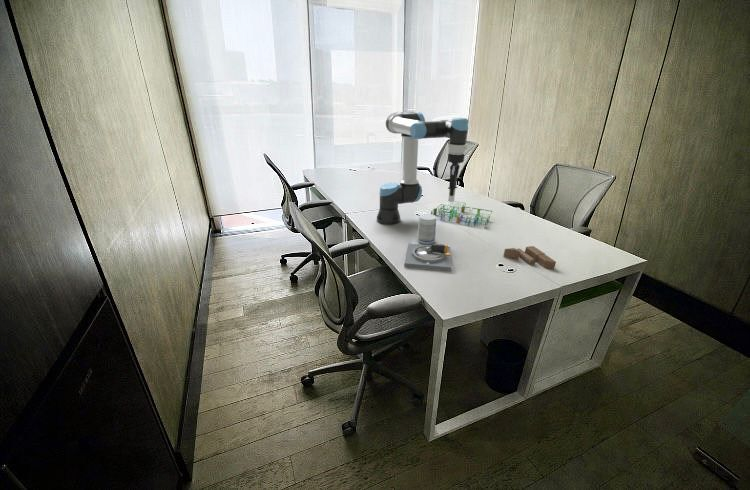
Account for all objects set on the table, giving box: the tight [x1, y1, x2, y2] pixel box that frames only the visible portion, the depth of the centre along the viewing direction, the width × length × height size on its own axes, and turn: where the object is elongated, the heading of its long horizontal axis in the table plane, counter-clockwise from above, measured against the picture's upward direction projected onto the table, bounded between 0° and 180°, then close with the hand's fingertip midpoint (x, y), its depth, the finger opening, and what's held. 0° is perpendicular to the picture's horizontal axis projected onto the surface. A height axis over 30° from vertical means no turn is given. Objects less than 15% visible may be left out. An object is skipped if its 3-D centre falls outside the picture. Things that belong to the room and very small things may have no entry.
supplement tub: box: [417, 213, 437, 245], centre depth 182 cm, size 10×10×15 cm
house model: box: [430, 200, 493, 229], centre depth 220 cm, size 35×30×5 cm
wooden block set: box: [503, 245, 557, 270], centre depth 163 cm, size 17×6×18 cm
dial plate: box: [403, 243, 452, 272], centre depth 166 cm, size 22×22×3 cm
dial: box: [416, 243, 449, 259], centre depth 165 cm, size 15×12×6 cm
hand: (451, 201), depth 165 cm, fingers closed
